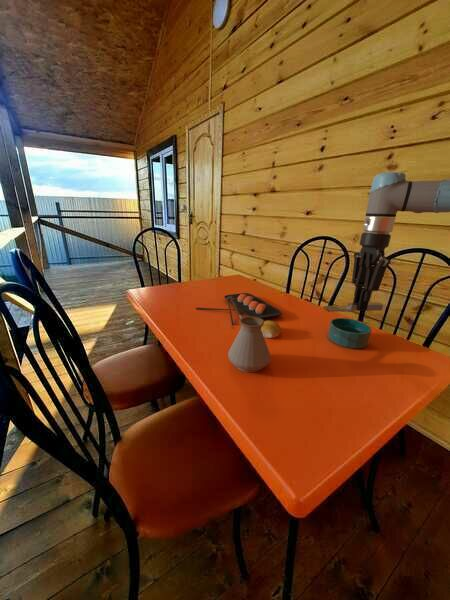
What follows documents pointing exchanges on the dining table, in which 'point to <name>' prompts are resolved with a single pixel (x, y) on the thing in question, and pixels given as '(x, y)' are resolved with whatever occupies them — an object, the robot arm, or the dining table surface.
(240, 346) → the coffee pot
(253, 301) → the sushi plate
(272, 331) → the bread roll
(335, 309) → the fork
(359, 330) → the bowl
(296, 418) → the dining table surface
